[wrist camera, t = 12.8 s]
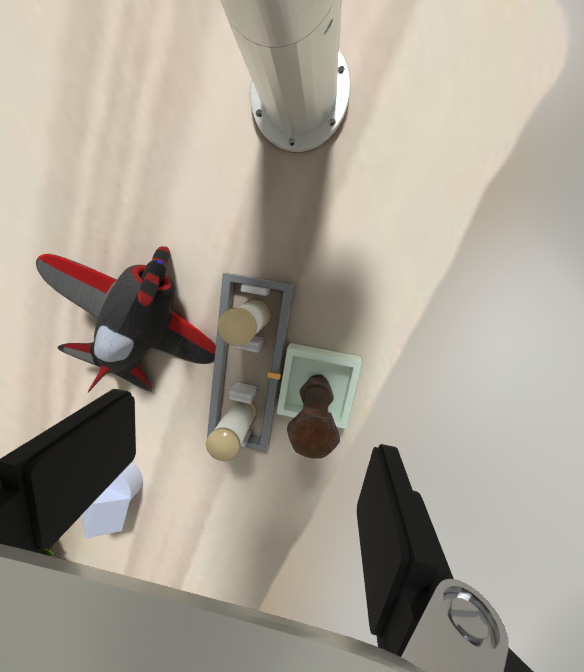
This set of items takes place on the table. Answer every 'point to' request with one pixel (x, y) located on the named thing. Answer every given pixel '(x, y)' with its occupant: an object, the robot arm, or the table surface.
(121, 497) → the wedge on round base
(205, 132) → the table surface
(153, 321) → the toy airplane
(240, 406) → the fuse outer
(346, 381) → the tray
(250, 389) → the block
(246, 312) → the ball
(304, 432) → the bolt
